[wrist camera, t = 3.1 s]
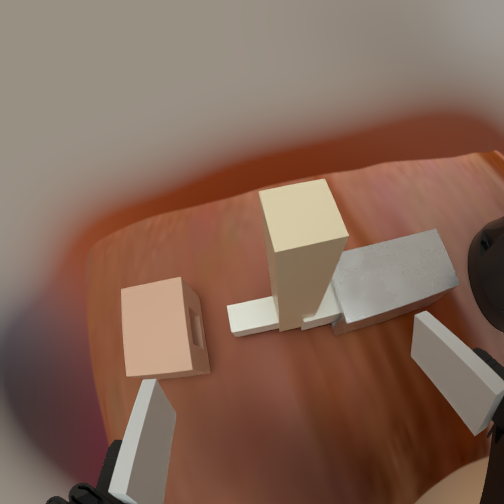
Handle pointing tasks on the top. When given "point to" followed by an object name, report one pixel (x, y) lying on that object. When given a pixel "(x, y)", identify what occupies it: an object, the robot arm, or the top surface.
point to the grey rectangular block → (391, 279)
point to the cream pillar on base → (296, 261)
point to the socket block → (163, 331)
